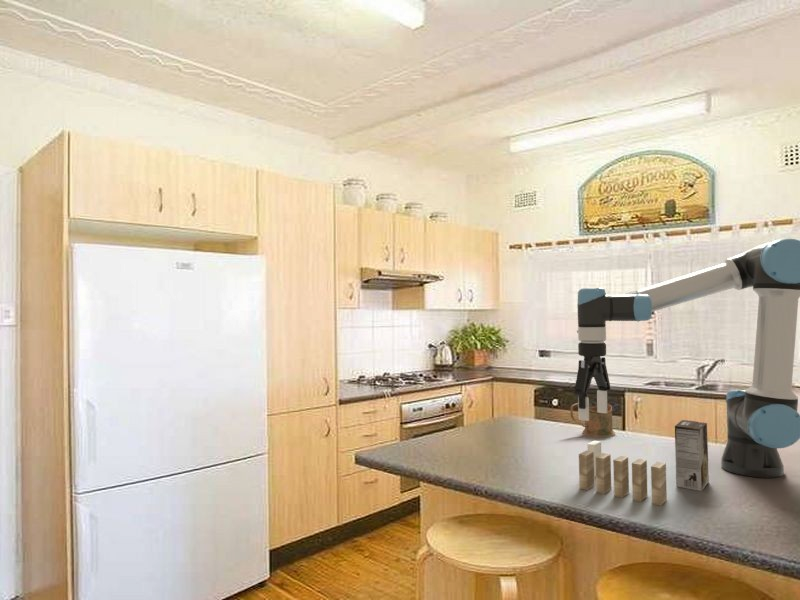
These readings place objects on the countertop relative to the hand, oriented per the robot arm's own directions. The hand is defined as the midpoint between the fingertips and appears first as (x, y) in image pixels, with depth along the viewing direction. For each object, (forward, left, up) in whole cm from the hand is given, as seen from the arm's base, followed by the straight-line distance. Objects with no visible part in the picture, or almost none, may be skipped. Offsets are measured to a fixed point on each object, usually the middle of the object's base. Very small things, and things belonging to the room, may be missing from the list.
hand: (593, 416), depth 156 cm
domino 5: (-16, +12, -16) cm, 26 cm away
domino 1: (-3, +12, -16) cm, 21 cm away
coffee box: (-24, -7, -17) cm, 30 cm away
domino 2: (0, 0, -16) cm, 16 cm away
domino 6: (-21, +12, -16) cm, 29 cm away
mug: (+19, -47, -17) cm, 53 cm away
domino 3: (-7, +12, -16) cm, 22 cm away
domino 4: (-12, +12, -16) cm, 23 cm away
